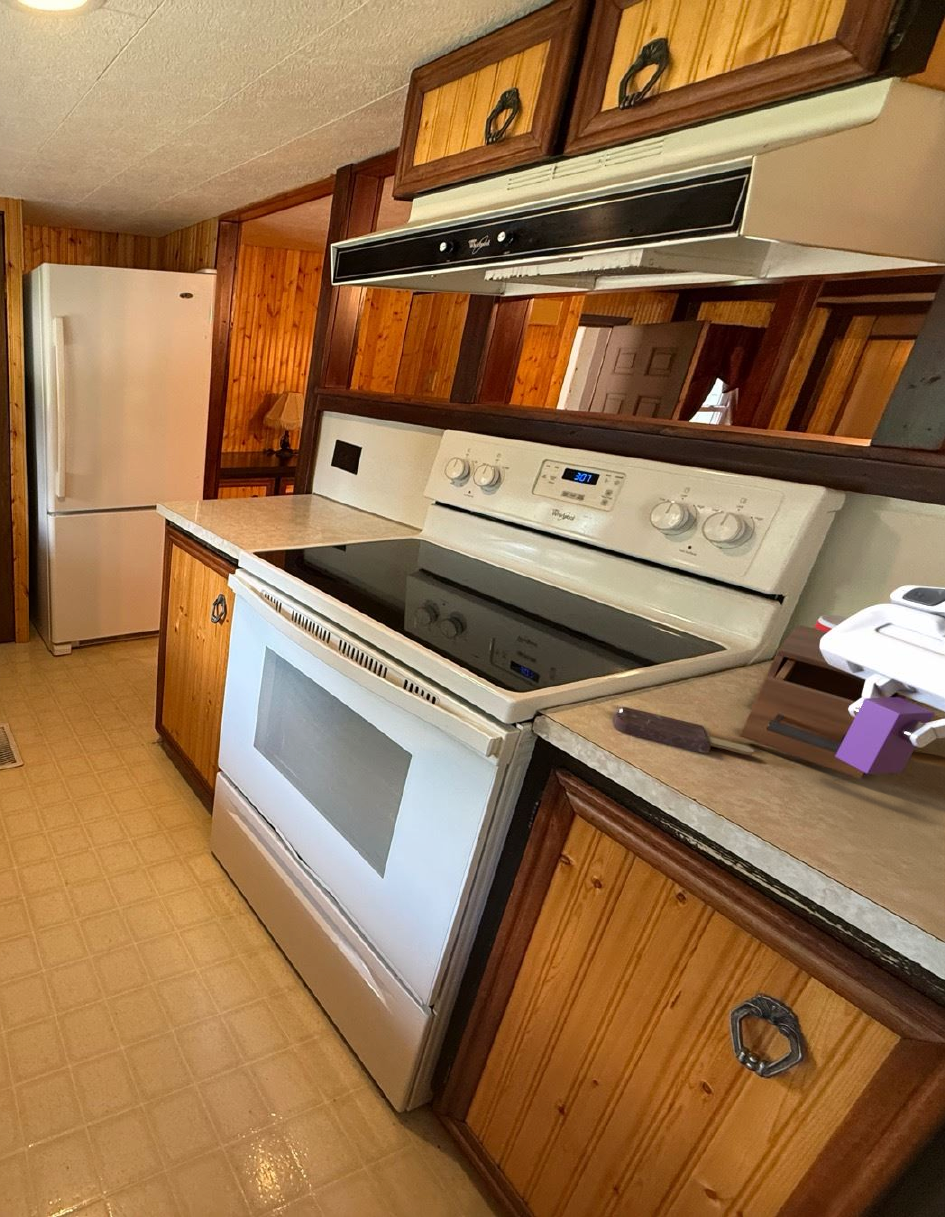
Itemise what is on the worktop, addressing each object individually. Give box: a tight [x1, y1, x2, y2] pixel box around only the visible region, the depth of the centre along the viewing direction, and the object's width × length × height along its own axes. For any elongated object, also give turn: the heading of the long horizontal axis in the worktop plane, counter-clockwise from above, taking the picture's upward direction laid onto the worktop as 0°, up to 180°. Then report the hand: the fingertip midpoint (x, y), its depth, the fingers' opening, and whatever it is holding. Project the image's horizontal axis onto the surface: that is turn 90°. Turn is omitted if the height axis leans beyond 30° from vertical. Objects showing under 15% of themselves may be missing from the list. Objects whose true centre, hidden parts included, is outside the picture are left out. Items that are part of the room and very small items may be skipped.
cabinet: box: [750, 624, 907, 711], centre depth 93 cm, size 16×13×11 cm
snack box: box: [835, 697, 936, 775], centre depth 66 cm, size 4×3×7 cm
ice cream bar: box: [612, 706, 755, 756], centre depth 87 cm, size 5×2×15 cm
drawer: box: [739, 658, 891, 779], centre depth 84 cm, size 19×11×9 cm, turn 129°
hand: (881, 727), depth 65 cm, fingers closed on snack box, 3 cm apart
